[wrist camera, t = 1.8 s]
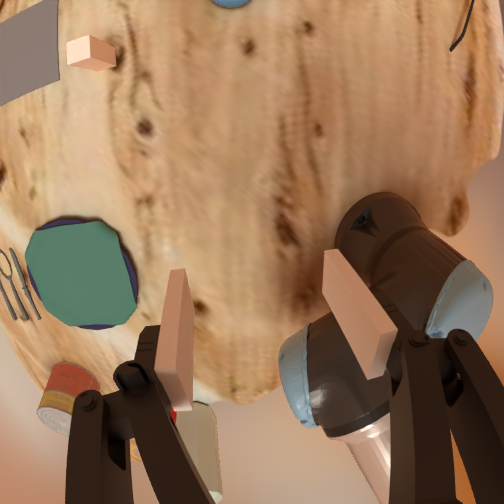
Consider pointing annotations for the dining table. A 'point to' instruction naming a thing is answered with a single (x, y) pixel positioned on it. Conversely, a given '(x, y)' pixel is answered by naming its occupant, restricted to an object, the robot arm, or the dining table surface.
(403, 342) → the robot arm
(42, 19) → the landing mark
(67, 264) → the cutlery set
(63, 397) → the canned food
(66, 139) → the dining table surface
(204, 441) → the water bottle
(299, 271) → the dining table surface
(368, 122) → the dining table surface
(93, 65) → the gate post
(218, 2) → the ball
